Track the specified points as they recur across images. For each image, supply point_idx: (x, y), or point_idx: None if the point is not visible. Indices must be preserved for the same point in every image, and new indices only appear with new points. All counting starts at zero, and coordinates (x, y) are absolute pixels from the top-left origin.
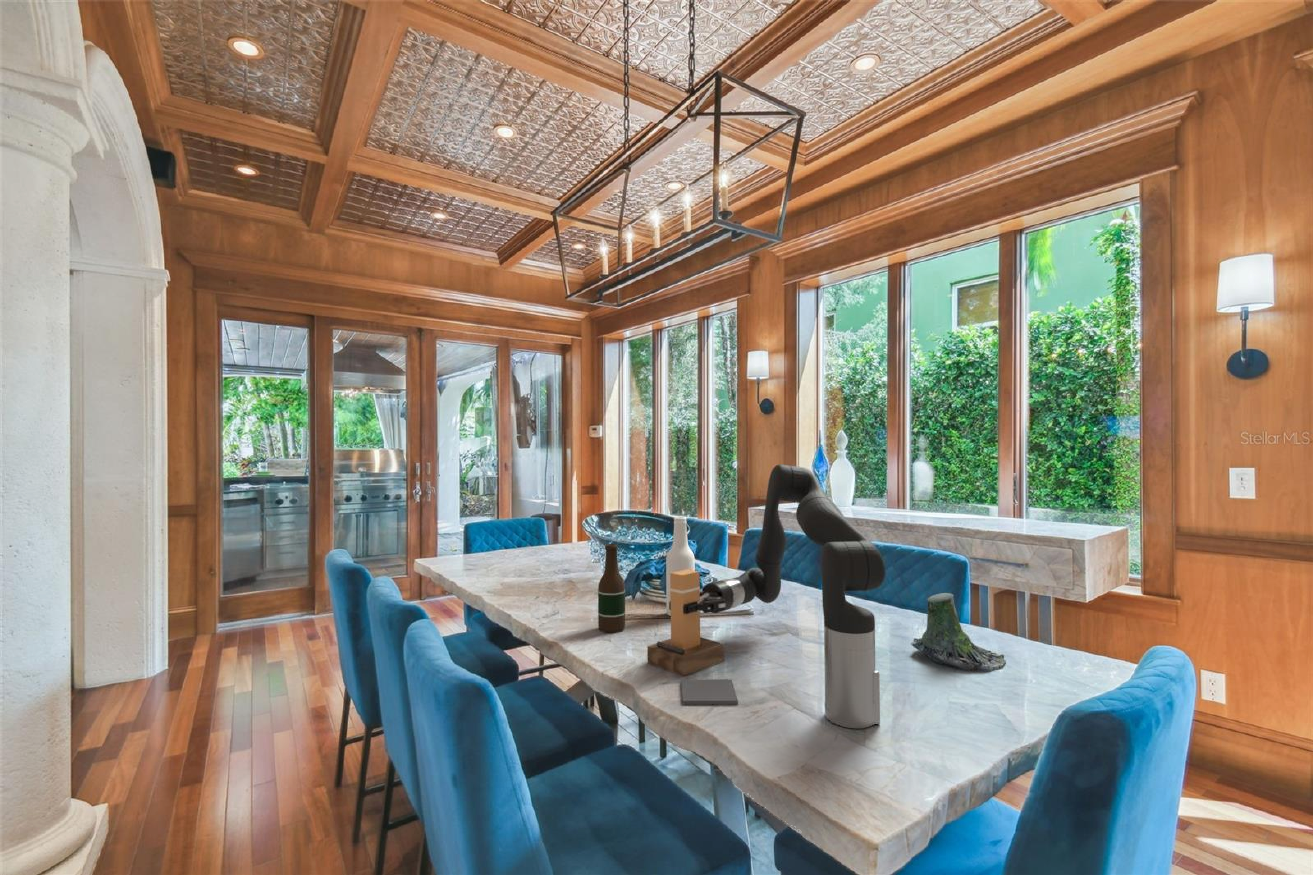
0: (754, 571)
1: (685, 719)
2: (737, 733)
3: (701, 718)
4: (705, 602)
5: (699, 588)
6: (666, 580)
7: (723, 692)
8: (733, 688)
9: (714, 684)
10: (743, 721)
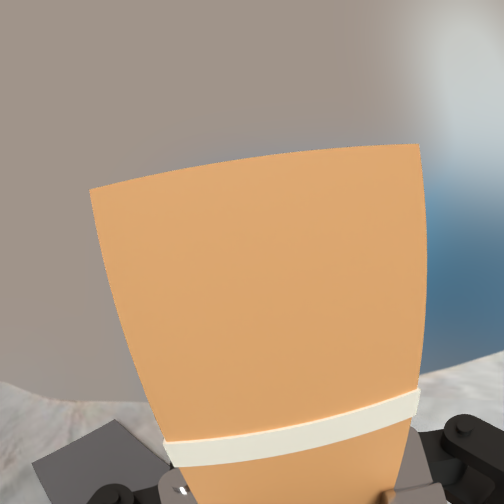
0: None
1: (92, 402)
2: (23, 412)
3: (73, 414)
4: (106, 490)
5: (169, 450)
6: None
7: (63, 476)
8: (51, 499)
9: None
10: (19, 434)
